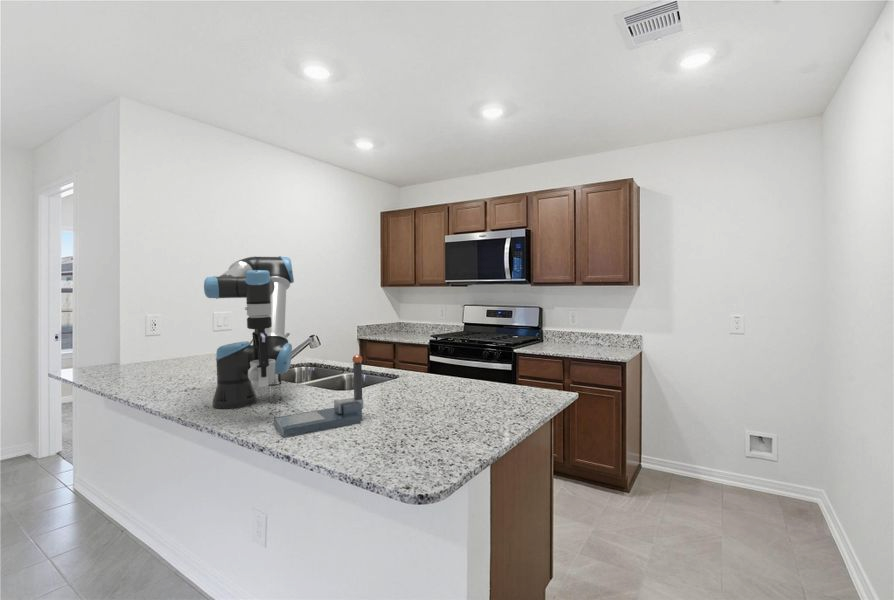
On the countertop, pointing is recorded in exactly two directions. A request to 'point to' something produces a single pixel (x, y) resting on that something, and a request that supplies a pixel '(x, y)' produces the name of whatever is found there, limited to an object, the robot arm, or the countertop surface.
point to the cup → (254, 372)
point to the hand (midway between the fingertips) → (261, 383)
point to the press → (318, 420)
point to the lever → (357, 386)
